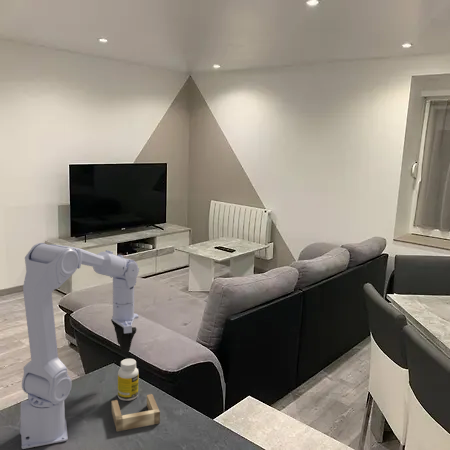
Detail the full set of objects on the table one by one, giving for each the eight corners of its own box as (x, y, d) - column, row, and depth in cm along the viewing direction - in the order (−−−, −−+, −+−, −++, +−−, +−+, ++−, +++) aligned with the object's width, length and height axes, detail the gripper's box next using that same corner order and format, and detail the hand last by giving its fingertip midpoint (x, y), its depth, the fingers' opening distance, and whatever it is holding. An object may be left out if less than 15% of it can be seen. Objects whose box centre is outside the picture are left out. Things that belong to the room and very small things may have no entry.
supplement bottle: (133, 402, 118) (133, 368, 116) (114, 399, 119) (114, 365, 117) (141, 392, 123) (141, 358, 122) (122, 389, 124) (122, 356, 123)
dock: (116, 431, 106) (116, 420, 106) (111, 411, 114) (111, 400, 113) (159, 423, 110) (159, 412, 109) (152, 404, 118) (152, 393, 117)
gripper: (143, 308, 119) (143, 357, 121) (133, 291, 132) (133, 335, 134) (116, 311, 116) (116, 360, 118) (108, 293, 129) (108, 338, 132)
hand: (123, 347), depth 126 cm, fingers open, 5 cm apart
